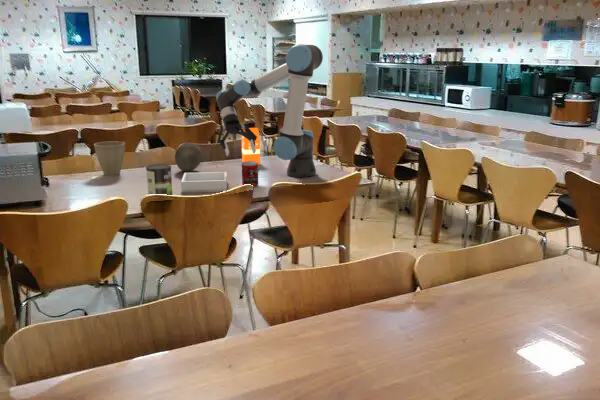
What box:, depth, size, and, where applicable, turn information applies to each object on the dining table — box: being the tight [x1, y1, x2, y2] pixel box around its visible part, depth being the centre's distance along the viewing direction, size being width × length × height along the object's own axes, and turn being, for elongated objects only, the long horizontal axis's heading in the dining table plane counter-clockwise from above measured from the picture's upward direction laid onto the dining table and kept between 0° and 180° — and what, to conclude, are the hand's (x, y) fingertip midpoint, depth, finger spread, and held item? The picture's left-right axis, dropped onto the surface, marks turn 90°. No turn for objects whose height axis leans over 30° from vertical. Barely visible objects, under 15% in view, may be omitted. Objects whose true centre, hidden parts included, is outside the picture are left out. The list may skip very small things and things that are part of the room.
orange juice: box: [241, 127, 261, 165], centre depth 298 cm, size 8×9×20 cm
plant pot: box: [93, 140, 126, 177], centre depth 271 cm, size 15×15×16 cm
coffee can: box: [145, 163, 173, 195], centre depth 228 cm, size 10×10×14 cm
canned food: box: [241, 161, 259, 188], centre depth 251 cm, size 8×8×11 cm
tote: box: [180, 171, 228, 193], centre depth 248 cm, size 20×18×5 cm
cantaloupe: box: [174, 142, 202, 173], centre depth 278 cm, size 14×14×15 cm
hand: (241, 153), depth 257 cm, fingers open, 13 cm apart
